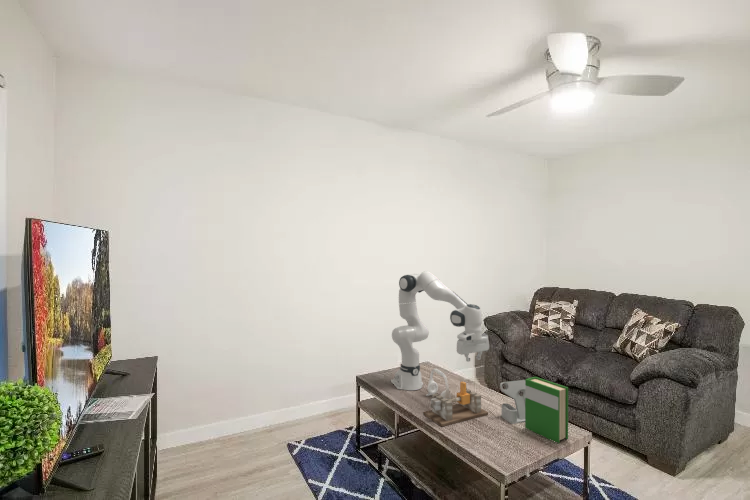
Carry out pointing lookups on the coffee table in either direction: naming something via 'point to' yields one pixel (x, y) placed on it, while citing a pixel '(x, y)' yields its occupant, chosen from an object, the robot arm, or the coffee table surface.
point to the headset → (434, 387)
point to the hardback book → (546, 408)
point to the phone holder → (509, 411)
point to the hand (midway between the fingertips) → (473, 360)
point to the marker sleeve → (463, 394)
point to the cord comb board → (454, 409)
